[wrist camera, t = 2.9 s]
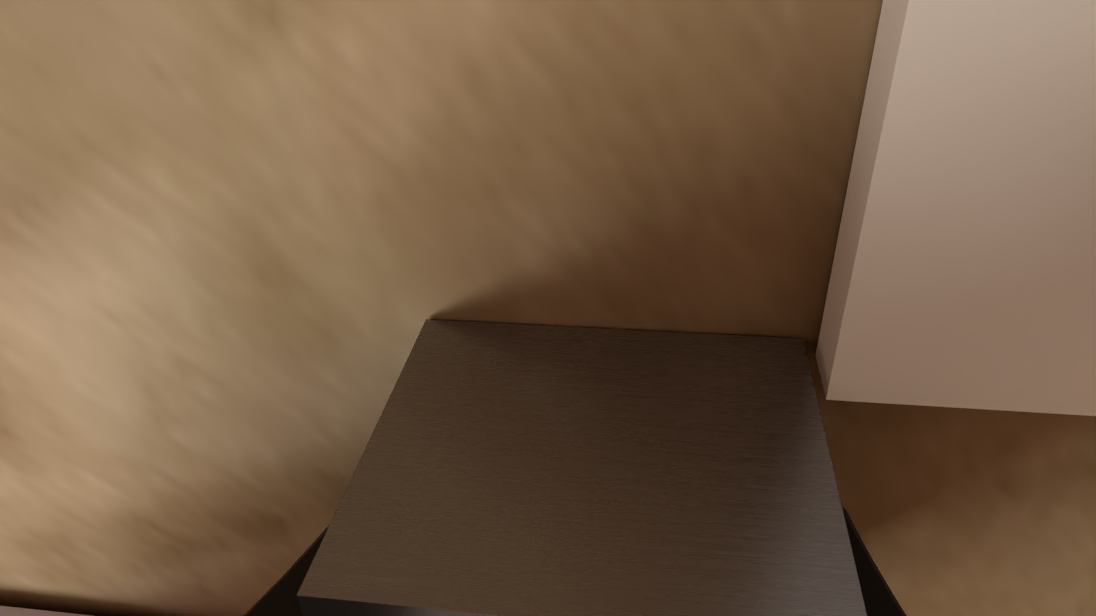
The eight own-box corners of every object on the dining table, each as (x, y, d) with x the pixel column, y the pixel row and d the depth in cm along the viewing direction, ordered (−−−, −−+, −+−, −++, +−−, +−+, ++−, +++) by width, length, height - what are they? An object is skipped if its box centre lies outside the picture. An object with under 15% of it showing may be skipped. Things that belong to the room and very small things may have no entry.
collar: (758, 588, 14) (792, 910, 10) (459, 561, 15) (378, 850, 11) (803, 338, 11) (874, 653, 7) (425, 319, 12) (296, 595, 8)
